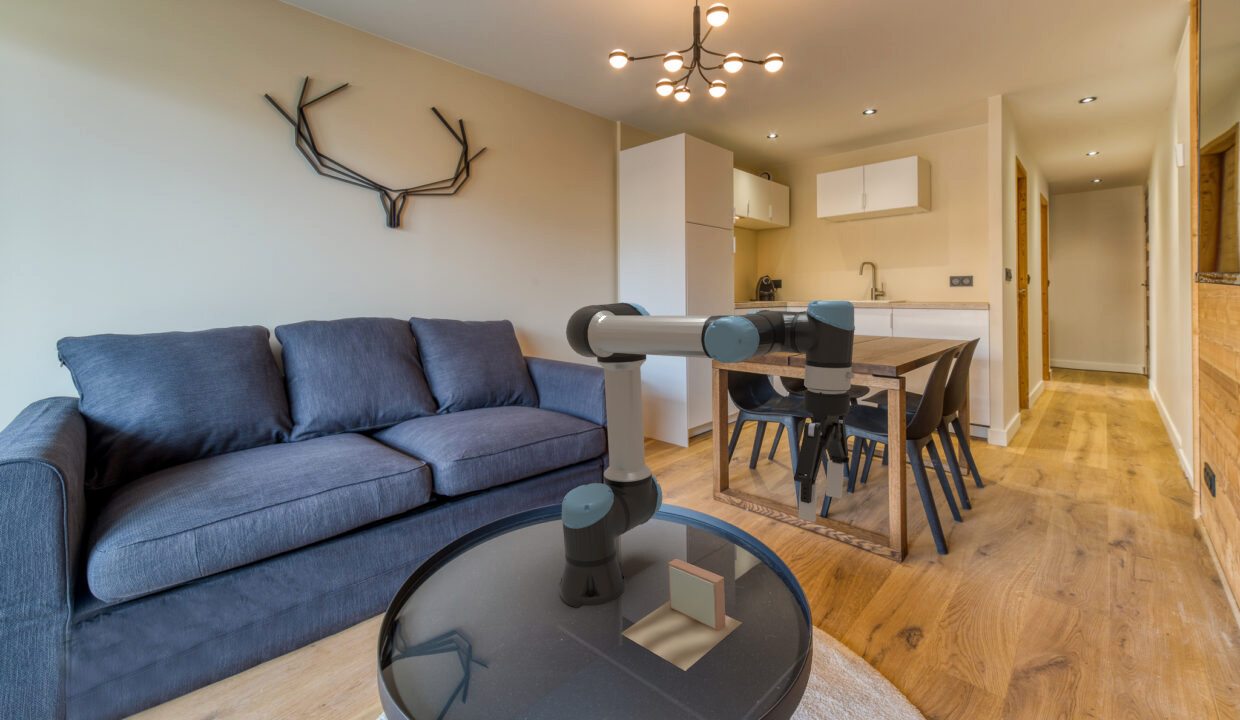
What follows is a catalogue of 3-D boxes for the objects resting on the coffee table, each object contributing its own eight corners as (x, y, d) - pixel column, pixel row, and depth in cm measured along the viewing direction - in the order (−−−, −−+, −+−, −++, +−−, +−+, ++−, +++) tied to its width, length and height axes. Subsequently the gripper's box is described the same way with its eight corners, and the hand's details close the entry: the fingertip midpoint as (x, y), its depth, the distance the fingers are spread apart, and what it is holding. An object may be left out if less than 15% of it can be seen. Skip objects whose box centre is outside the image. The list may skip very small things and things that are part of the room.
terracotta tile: (669, 608, 112) (667, 563, 110) (678, 602, 114) (675, 558, 112) (717, 632, 103) (715, 583, 102) (725, 625, 105) (723, 577, 104)
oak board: (620, 637, 105) (620, 633, 104) (679, 597, 117) (678, 594, 117) (685, 675, 93) (685, 670, 93) (742, 626, 106) (742, 622, 106)
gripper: (823, 403, 81) (817, 537, 83) (870, 383, 100) (863, 492, 102) (776, 397, 86) (771, 524, 88) (829, 379, 105) (824, 483, 107)
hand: (821, 507), depth 95 cm, fingers open, 13 cm apart
